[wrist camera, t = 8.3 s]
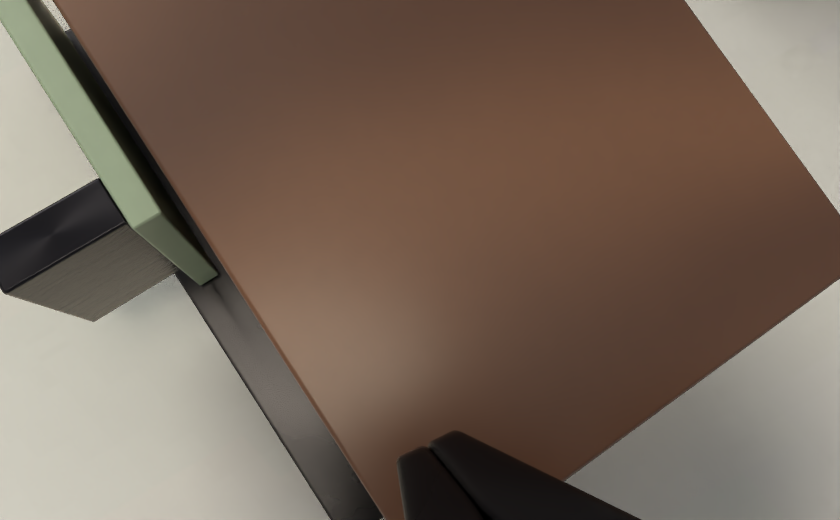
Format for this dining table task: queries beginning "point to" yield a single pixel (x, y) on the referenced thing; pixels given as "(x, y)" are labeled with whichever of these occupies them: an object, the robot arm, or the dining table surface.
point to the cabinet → (462, 215)
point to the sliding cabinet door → (91, 196)
